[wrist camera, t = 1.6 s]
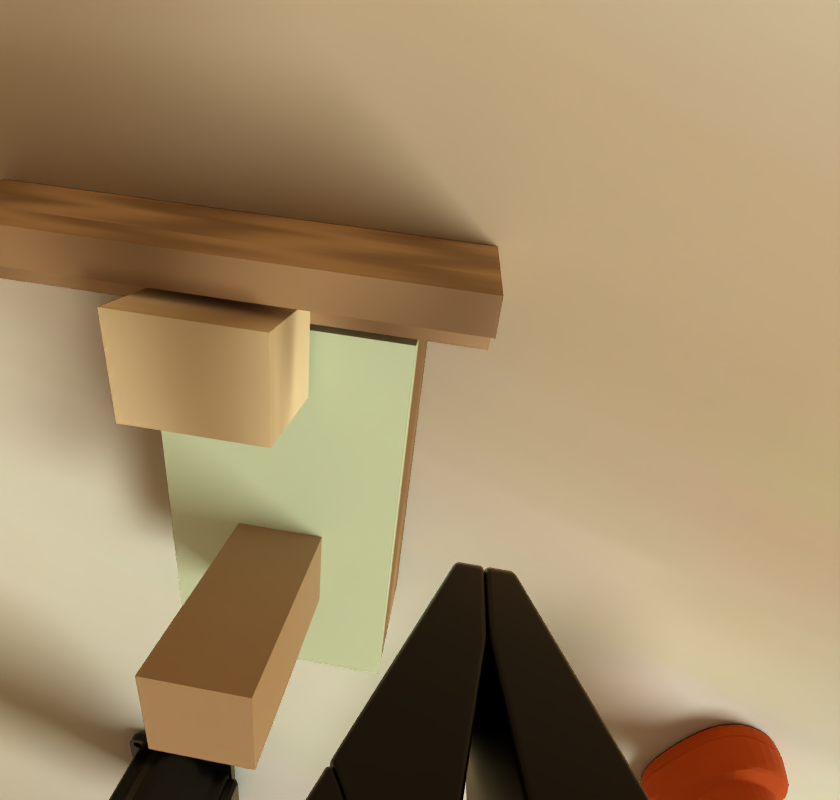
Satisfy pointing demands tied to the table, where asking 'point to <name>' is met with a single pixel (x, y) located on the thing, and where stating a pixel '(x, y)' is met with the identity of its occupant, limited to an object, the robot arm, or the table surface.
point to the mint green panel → (281, 551)
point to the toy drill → (718, 767)
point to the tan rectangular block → (205, 365)
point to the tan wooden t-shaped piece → (259, 271)
